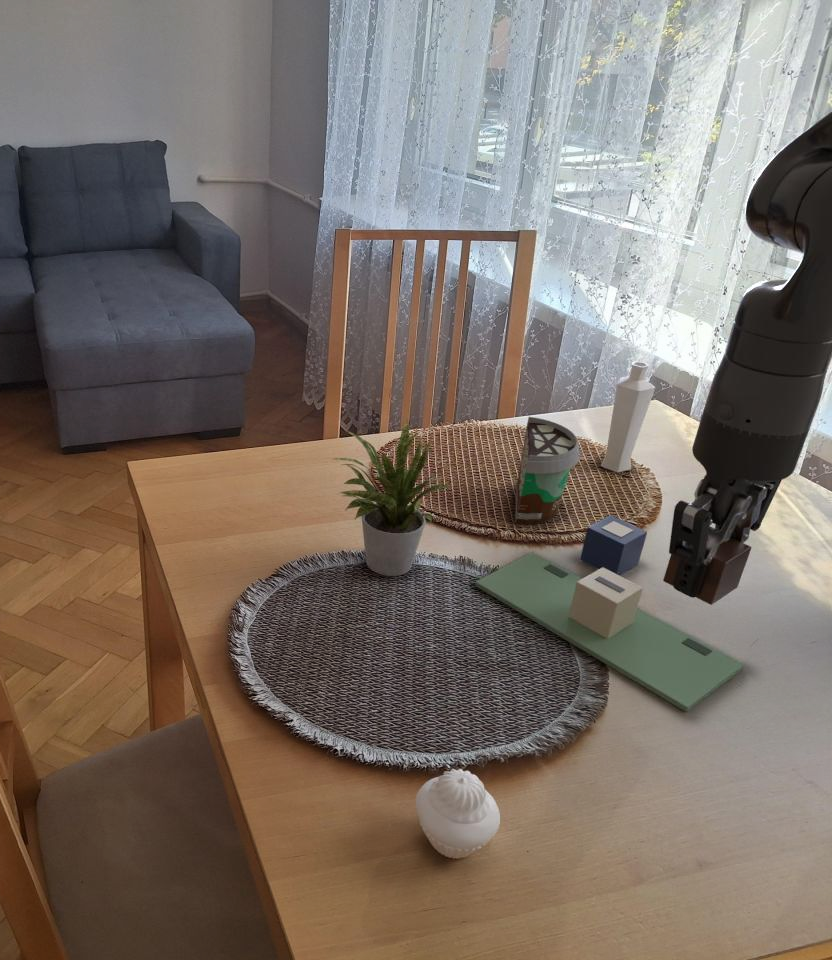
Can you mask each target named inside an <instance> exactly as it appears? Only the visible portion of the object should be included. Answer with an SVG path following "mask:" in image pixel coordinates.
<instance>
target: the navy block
mask: <svg viewBox="0 0 832 960" xmlns="http://www.w3.org/2000/svg"><path fill="white" fill-rule="evenodd" d="M647 535H648V531H646V530H644V529H642V528H640V527H638V526H635V525H633V524H631V523H630V522H627V521H624V520H622V519H620V518H618V517H616V516H614V515H611V514H610V515H608V516H607V517H604V518H602V519H601V520H599V521H597V522H595V523H593V524H591V525H589V526H588V527H587V528H586V533H585V537H584V541H583V545H582V549H581V554H580V558H579V560H580V561H581V562H583V563H585V564H587V565H589V566H591V567H593V568H595V569H596V570H599V569H600V568H602V567H603V568H605V569H607V570H609V571H611V572H613V573H615V574H617V575H619V576H621V575H624V574H625V573H626V572H628V571H630V570H632V569H633V568H635V567H637V566H638V565H639V563H640V560H641V556H642V553H643V549H644V545H645V542H646V538H647Z"/></svg>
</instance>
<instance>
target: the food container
mask: <svg viewBox="0 0 832 960" xmlns="http://www.w3.org/2000/svg"><path fill="white" fill-rule="evenodd" d="M523 440H524V441H523V447H522V452H521V458H520V463H519V469H518V474H517V480H516V486H515V523H514V524H519V525H538V524H543V523H547V522H549V521H551V520H552V519H554V518H555V517H556V515H557V514H558V512H559V508H560V504H561V501H562V498H563V495H564V492H565V487H566V485H567V481H568V478H569V476H570V472H571V469H572V468H574V467H575V466H576V465H577V464H578V463H579V461H580V445H579V441H578V438H577V436H576V435H575V433H574V432H573V431H571V429H569V428H568V427H565V426H563V425H561V424H559V423H557V422H554V421H551V420H549V419H544V418H540V417H533V416H528V418H527V422H526V427H525V434H524V439H523Z"/></svg>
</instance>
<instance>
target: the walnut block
mask: <svg viewBox="0 0 832 960" xmlns="http://www.w3.org/2000/svg"><path fill="white" fill-rule="evenodd" d="M708 543H709V539H707V545H708ZM706 547H707V546H706ZM751 551H752V546H751V545H749V544H746V543H745V542H744V543H742V542H739V541H737V540H735V539H732V538H730V539H729V540H728V541H726V542H721V543H720V545H719V547H718V549H717V551H716V553H715V555H714V557H713V560H712V562H711V564H710V567H709V570H708V573H707V576H706V579H705V582H704V585H703V588H702V591H701V593H700V594H699V595H698V596H696V597H695V598H696V599H698V600H700V601H702V602H704V603H706V604H708V605H711V606H712V605H714V604H715V603H716V602H718V601H719V600H721V599H723V598H724V597H726V596H727V595H729V594H730V593H732V592H733V591H734V590H736V589H737V588H739V587H738V586H739V584H740V582H741V578H742V575H743V573H744V570H745V567H746V565H747V562H748V559H749V557H750V554H751ZM679 562H680V558H678V557H676V556H674V555H672V554H670V557H669V559H668V563H667V566H666V569H665V573H664V576H663V579H662V581H663V582H664V583H666V584H669V585H670V586H672V587H673V581H674V578H675V575H676V572H677V568H678V565H679Z"/></svg>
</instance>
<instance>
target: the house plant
mask: <svg viewBox="0 0 832 960" xmlns="http://www.w3.org/2000/svg"><path fill="white" fill-rule="evenodd" d="M342 429H343V428H342ZM343 431H345V432H346V433H349V434H350V435H352V436H353V437H355V439H357V440H358V441H359V442H360V443H361V444H362V446H363V447H364V449H365V450H366V453H367V454H368V457H369V458H370V460H371V463H372V464H373V466H374V468H375V470H376V472H377V474H378V476H377V475H375V474H374V472H373V471H372V470H370V468H369V467H368V466H366V465H365V464H364V463H362V462H360V461H358V460H356V459H353V458H347V457H345V458H344V457H336V458H332V461H333V460H334V461H344V462H351V463H354V464H351V463H343V464H341V466H346V467H348V468H349V469H350V470H352V471H353V472H354V473H355V475H356V476H357V477H354V478H350V479H348V480H346V481H345V482H344V483H343V485H342V486H344V485H357V486H362V487H363V488H364V489H365V490H360V489H359V490H358V489H351V490H347V491H341V492H340V494H344V495H342V497H346V498H347V497H349V498H354V499H353V500H352V501H350V503H349V504H348V506H347V507H346V508H345V510H344V512H346V511H347V510H348V509H354V508H358V510H357V511H356V515H355V517H354V520H356V519H357V518H360V517H361V524H362V525H361V526H362V534H363V545H364V554H365V564H366V566H367V568H369V569H370V570H371V571H372V572H374V573H376V574H378V575H382V576H387V577H398V576H402V575H405V574H407V573H408V572H409V571H410V570H411V569H412V566H413V563H414V560H415V557H416V553H417V551H418V548H419V544H420V541H421V538H422V535H423V532H424V529H425V526H426V522H427V521H426V519H428V520H429V522H430V523H431V524H433V521H432V520H433V517H434V516H433V515H432V514H431V513H422V511H420V510H419V509H421V503H420V502H419V500H420V499H422V498H423V497H424V496H425V495H427V494H430V493H431V492H434V491H438V490H440V489H447V488H448V489H450V490H451V489H452V490H453V488H452V487H451V486H450V485H447V484H436V485H432V486H430V487H428V488H427V489H424V488H425V486H426V485H428V484H429V483H430V482H432V481H434V482H435V481H437V482H438V481H440V482H444V481H443V479H442V478H439V477H437V478H433V477H434V476H436V475H437V474H438V473H439V472H441V471H442V470H443V469H445V468H447V467H448V466H449V465H450V464H452V462H451V463H449V464H446V465H445V466H443V467H441V468H439V469H438V470H437V471H436V472H434V473H433V475H430V477H428V478H427V479H426V480H425V481H423V482H422V483H420V484H418V485H416V483H417V481H418V478H419V476H420V473H421V472H422V470H423V468H424V466H425V464H426V462H427V459H428V455H429V450H430V444H431V443H430V440H429V441H428V443H427V444H426V446H425V448H424V450H423V446H424V445H423V443H424V439H423V438H424V437H423V436H421V437H420V439H419V442H418V445H417V446H416V448H415V452H414V456H413V459H412V461H411V463H410V466H409V468H408V469H407V468H405V467H406V462H407V458H408V455H409V453H410V450H411V447H412V445H413V443H414V439H415V438H416V437H417V435H418V432H416V433H414V434H412V435H411V436H410V422H409V419H407V420H406V421H405V423H404V425H403V427H402V429H401V434H400V437H399V441H398V445H397V449H396V453H395V454H396V463H395V464H396V465H395V466H396V467H394V464H393V462H392V461H391V460H390V458H389V457H388V455H386V454H385V453H384V452H382V453H381V454H380V456H381V459H380V456H379V454H378V452H377V450H376V448H375V447H374V446H373V445H372V443H370V442H369V441H367V440H366V439H363V438H362V437H361V436H359V435H358V434H356V433H354V432H352V431H349V430H346V429H343ZM422 450H423V452H422ZM355 464H358V465H360V466H361V467H364V468H366V469H367V470H368V471H369V472H370V473H371V474H372V475H373V477H372V478H375V479H376V480H377V481H378V482H379V484H380V485H381V487H382V488H383V491H384V493H383V492H380V491H379V489H378V488H377V486H376V484H375V483H374V482H373V481H372V478H371V477H370V476H369V474H368V473H367V472H366V471H365V470H364V469H362V468H361V467H359V466H357V465H355ZM355 467H356V468H355ZM357 468H358V469H360V470H361V471H362V472H363V473H364V474H365V476H366V477H367V479H368V480H369V481H367V480H366V478H365V477H364V475H363V473H361V472H360V470H358V469H357ZM432 478H433V479H432ZM430 479H431V480H430ZM415 485H416V486H415ZM423 489H424V490H423ZM422 490H423V491H422ZM421 491H422V492H421ZM419 493H420V494H419Z"/></svg>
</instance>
